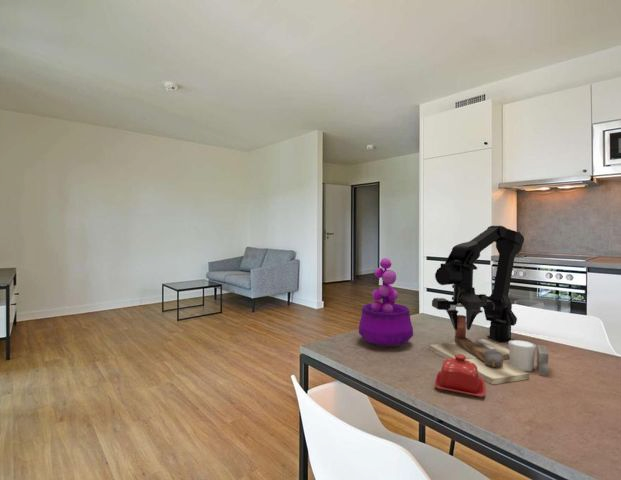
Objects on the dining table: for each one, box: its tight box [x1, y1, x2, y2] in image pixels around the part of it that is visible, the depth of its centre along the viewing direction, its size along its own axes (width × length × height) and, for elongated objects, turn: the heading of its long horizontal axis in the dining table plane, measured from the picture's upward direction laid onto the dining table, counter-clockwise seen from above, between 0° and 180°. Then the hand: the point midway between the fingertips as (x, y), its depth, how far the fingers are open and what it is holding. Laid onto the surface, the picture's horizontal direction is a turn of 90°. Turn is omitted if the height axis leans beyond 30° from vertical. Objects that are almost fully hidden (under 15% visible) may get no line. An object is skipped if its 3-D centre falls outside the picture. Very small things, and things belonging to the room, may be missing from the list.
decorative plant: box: [358, 257, 414, 347], centre depth 122 cm, size 19×18×30 cm
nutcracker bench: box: [428, 338, 549, 386], centre depth 105 cm, size 24×27×6 cm
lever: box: [454, 314, 504, 367], centre depth 106 cm, size 22×5×9 cm, turn 5°
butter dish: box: [434, 354, 486, 397], centre depth 88 cm, size 12×12×8 cm
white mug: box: [508, 339, 537, 372], centre depth 101 cm, size 7×7×7 cm
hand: (461, 329), depth 116 cm, fingers open, 4 cm apart
